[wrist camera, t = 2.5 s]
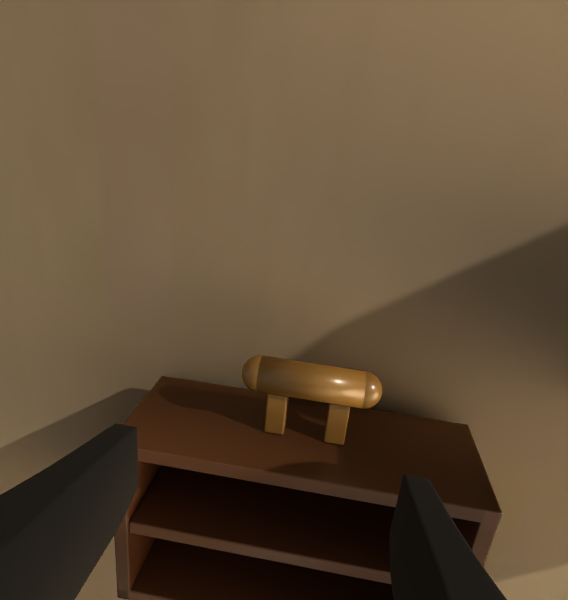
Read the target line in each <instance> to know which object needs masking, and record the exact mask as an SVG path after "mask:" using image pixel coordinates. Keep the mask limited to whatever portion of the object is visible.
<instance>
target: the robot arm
mask: <svg viewBox="0 0 568 600" xmlns="http://www.w3.org/2000/svg"><path fill="white" fill-rule="evenodd" d="M138 486H139V484H138V446H137V427H133V426H127V425H121V424H114V425H113V426H111V427H110V428H108V429H106V430H105V431H103V432H102V433H100V434H99V435H97V436H96V437H94V438H93V439H91V440H90V441H88V442H87V443H85V444H84V445H82V446H81V447H79V448H78V449H76V450H74V451H73V452H71V453H70V454H68V455H67V456H65V457H63V458H62V459H60V460H59V461H57V462H56V463H54V464H53V465H51V466H49V467H48V468H46V469H44V470H43V471H41V472H39V473H38V474H36V475H34V476H32V477H31V478H29V479H27V480H26V481H24V482H22V483H20V484H19V485H17V486H15V487H14V488H12V489H10V490H9V491H7V492H5V493H3V494H1V495H0V600H74V599H75V598H76V596H77V595H78V593H79V591H80V590H81V588H82V586H83V585H84V583H85V582H86V580H87V578H88V577H89V575H90V573H91V572H92V570H93V569H94V567H95V565H96V564H97V562H98V561H99V559H100V557H101V556H102V554H103V552H104V551H105V549H106V548H107V546H108V544H109V543H110V541H111V539H112V538H113V536H114V534H115V533H116V531H117V529H118V528H119V526H120V524H121V523H122V521H123V519H124V517H125V515H126V512H127V510H128V508H129V506H130V504H131V502H132V500H133V497H134V495H135V493H136V491H137V488H138ZM389 540H390V575H391V583H392V591H393V599H394V600H507V599H506V598H505V597H504V595H503V594H502V593H501V591H500V590H499V589H498V587H497V586H496V584H495V583H494V582H493V580H492V579H491V577H490V576H489V575H488V573H487V572H486V570H485V569H484V568H483V566H482V565H481V563H480V562H479V560H478V559H477V557H476V556H475V554H474V553H473V551H472V550H471V548H470V547H469V545H468V543H467V542H466V540H465V539H464V537H463V536H462V534H461V533H460V531H459V529H458V528H457V526H456V525H455V523H454V521H453V520H452V518H451V516H450V515H449V513H448V511H447V510H446V508H445V506H444V504H443V503H442V501H441V499H440V497H439V496H438V494H437V492H436V490H435V489H434V487H433V485H432V483H431V482H430V480H429V479H428V478H424V477H419V476H413V475H407V474H404V475H403V479H402V483H401V487H400V491H399V495H398V500H397V504H396V508H395V512H394V516H393V520H392V524H391V528H390V533H389Z"/></svg>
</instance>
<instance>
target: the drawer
mask: <svg viewBox="0 0 568 600" xmlns="http://www.w3.org/2000/svg"><path fill="white" fill-rule="evenodd" d="M242 378H243V381H244V383H245V385H246V386H247V387H248V388H249V389H251V390H247V389H241V388H234V387H228V386H222V385H216V384H210V383H203V382H197V381H191V380H185V379H178V378H172V377H166V376H161V378H160V379H159V380H158V381H157V383H156V384H155V385H154V387H153V388H152V389H151V391H150V392H149V393H148V394H147V396H146V397H145V398H144V400H143V401H142V402H141V403H140V405H139V406H138V407H137V409H136V410H135V411H134V412H133V414H132V415H131V416H130V418H129V419H128V420H127V421H126V423H125V424H124V425H127V426H133V427H137V446H138V484H139V486H138V488H137V491H136V493H135V495H134V497H133V500H132V502H131V504H130V506H129V508H128V510H127V512H126V515H125V517H124V519H123V521H122V523H121V524H120V526H119V528H118V529H117V531H116V533H115V534H114V538H115V556H116V574H117V593H118V597H119V598H123V599H128V600H394V599H393V591H392V583H391V575H390V540H389V533H390V528H391V524H392V520H393V516H394V512H395V508H396V504H397V500H398V495H399V491H400V487H401V483H402V479H403V475H404V474H407V475H413V476H419V477H424V478H428V479H429V480H430V482H431V483H432V485H433V487H434V489H435V490H436V492H437V494H438V496H439V497H440V499H441V501H442V503H443V504H444V506H445V508H446V510H447V511H448V513H449V515H450V516H451V518H452V520H453V521H454V523H455V525H456V526H457V528H458V529H459V531H460V533H461V534H462V536H463V537H464V539H465V540H466V542H467V543H468V545H469V547H470V548H471V550H472V551H473V553H474V554H475V556H476V557H477V559H478V560H479V562H480V563H481V565H482V566H484V564H485V561H486V558H487V555H488V552H489V549H490V547H491V544H492V541H493V538H494V535H495V532H496V529H497V527H498V524H499V521H500V518H501V515H502V512H501V509H500V507H499V504H498V502H497V499H496V496H495V494H494V491H493V489H492V486H491V484H490V481H489V478H488V476H487V473H486V471H485V468H484V466H483V463H482V461H481V458H480V455H479V453H478V450H477V448H476V445H475V443H474V440H473V437H472V435H471V432H470V430H469V427H468V425H466V424H459V423H453V422H446V421H440V420H434V419H428V418H422V417H415V416H409V415H403V414H397V413H390V412H384V411H378V410H372V409H366V408H370V407H373V406H374V405H376V404H377V403H378V402H379V400H380V398H381V396H382V385H381V383H380V381H379V379H378V378H377V377H376V376H375V375H374V374H372V373H370V372H366V371H361V370H354V369H348V368H341V367H335V366H328V365H321V364H315V363H308V362H302V361H295V360H289V359H282V358H276V357H269V356H260V355H259V356H254V357H252V358H250V359H249V360H248V361H247V362H246V363H245V364H244V366H243V369H242Z"/></svg>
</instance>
